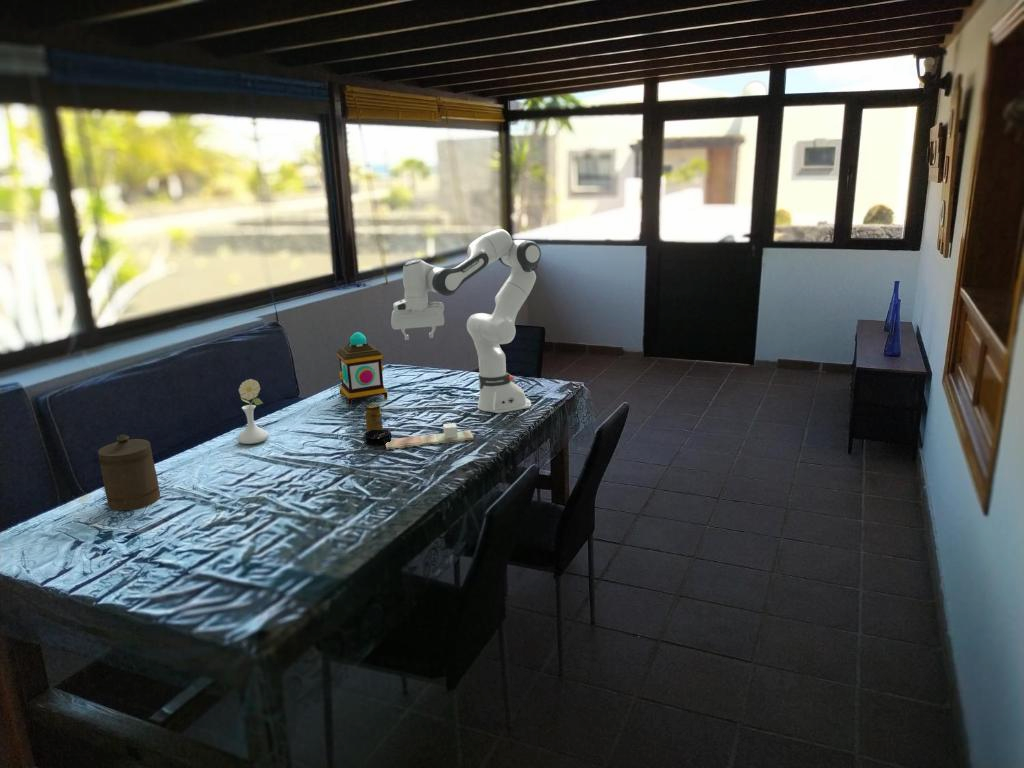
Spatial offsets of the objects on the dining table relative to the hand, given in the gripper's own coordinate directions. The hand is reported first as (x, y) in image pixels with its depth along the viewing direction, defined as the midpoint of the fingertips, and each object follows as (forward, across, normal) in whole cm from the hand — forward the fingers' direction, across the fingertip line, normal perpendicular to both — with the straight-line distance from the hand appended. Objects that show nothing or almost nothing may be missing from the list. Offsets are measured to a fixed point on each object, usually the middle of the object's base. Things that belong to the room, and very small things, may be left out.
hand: (419, 338), depth 286 cm
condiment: (+34, +20, +10) cm, 41 cm away
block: (+33, -7, +22) cm, 40 cm away
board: (+34, +1, +22) cm, 41 cm away
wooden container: (+34, +97, +45) cm, 112 cm away
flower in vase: (+34, +65, +1) cm, 74 cm away
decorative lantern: (+34, +23, -42) cm, 59 cm away
